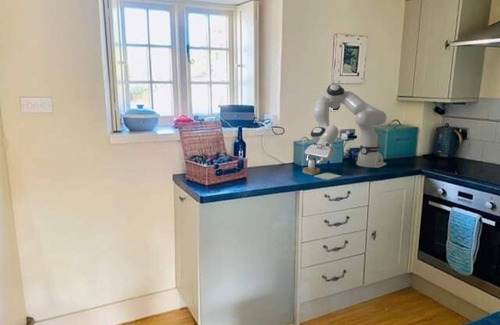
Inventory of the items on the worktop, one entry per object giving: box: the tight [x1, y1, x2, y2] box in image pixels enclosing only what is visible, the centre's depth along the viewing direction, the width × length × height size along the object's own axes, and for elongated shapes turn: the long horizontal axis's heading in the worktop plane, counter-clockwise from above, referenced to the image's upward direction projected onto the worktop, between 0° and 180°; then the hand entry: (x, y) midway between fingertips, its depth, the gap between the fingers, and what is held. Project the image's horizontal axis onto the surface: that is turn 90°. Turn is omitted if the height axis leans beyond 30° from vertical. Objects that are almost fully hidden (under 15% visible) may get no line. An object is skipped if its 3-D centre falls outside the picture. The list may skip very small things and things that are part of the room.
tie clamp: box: [302, 166, 321, 176], centre depth 240 cm, size 8×9×3 cm
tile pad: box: [313, 172, 342, 181], centre depth 230 cm, size 13×11×1 cm
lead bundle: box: [307, 158, 316, 170], centre depth 239 cm, size 4×4×9 cm
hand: (312, 162), depth 239 cm, fingers open, 8 cm apart
